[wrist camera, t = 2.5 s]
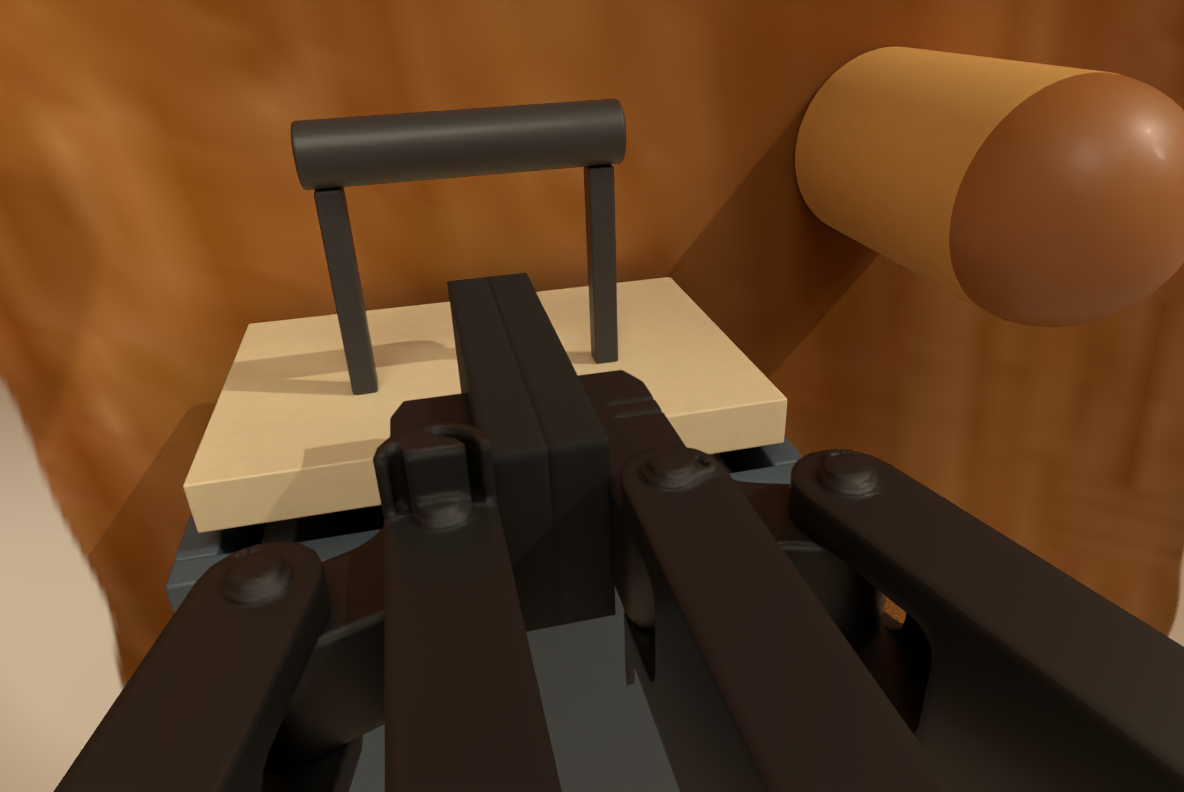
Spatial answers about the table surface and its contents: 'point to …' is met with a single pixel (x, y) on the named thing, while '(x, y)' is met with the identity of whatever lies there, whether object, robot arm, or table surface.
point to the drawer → (446, 328)
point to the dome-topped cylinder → (1001, 179)
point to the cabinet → (534, 663)
